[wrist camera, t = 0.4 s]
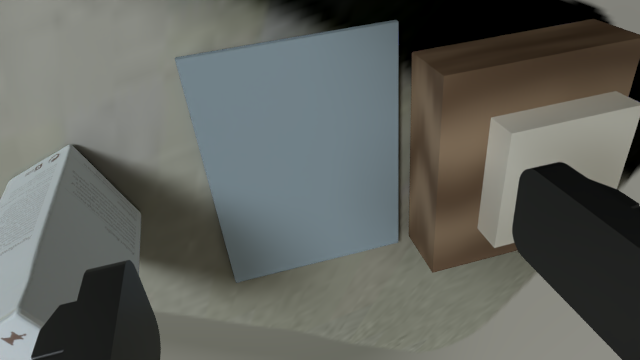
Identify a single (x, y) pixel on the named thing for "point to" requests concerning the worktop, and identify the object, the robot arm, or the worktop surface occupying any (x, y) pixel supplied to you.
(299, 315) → the worktop surface
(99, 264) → the skincare box
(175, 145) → the worktop surface
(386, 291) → the worktop surface
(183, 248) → the worktop surface
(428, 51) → the stand
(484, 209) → the coaster
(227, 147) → the mat
